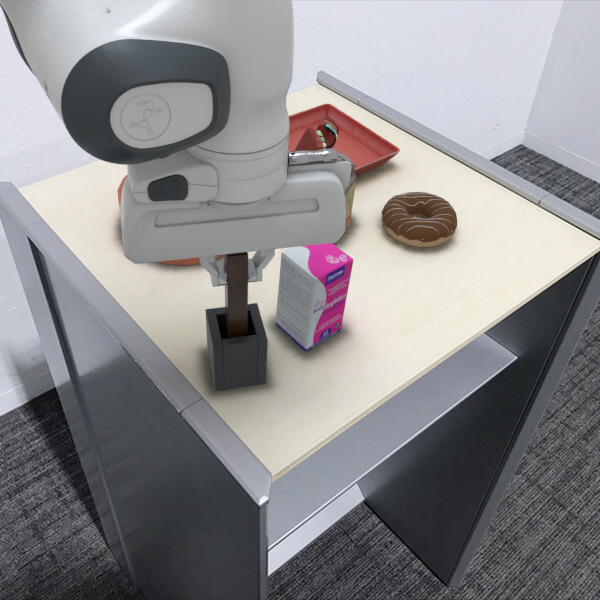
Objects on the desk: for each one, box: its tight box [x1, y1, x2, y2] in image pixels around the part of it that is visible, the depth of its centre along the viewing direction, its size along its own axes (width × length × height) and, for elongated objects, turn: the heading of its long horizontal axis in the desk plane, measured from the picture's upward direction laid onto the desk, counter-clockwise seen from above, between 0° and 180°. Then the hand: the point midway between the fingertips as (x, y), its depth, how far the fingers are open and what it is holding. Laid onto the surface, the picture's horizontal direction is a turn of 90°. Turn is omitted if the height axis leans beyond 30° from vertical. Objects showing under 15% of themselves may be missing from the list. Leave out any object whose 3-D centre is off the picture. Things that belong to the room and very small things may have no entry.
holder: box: [205, 302, 269, 392], centre depth 72 cm, size 6×6×7 cm
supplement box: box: [274, 243, 354, 352], centre depth 75 cm, size 6×6×12 cm
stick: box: [223, 252, 249, 339], centre depth 68 cm, size 2×2×16 cm
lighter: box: [333, 163, 357, 244], centre depth 90 cm, size 7×4×10 cm, turn 155°
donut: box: [381, 191, 458, 248], centre depth 93 cm, size 11×11×4 cm
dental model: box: [294, 114, 339, 151], centre depth 99 cm, size 6×4×8 cm
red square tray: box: [288, 103, 401, 176], centre depth 105 cm, size 18×18×3 cm
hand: (235, 280), depth 65 cm, fingers closed on stick, 2 cm apart
